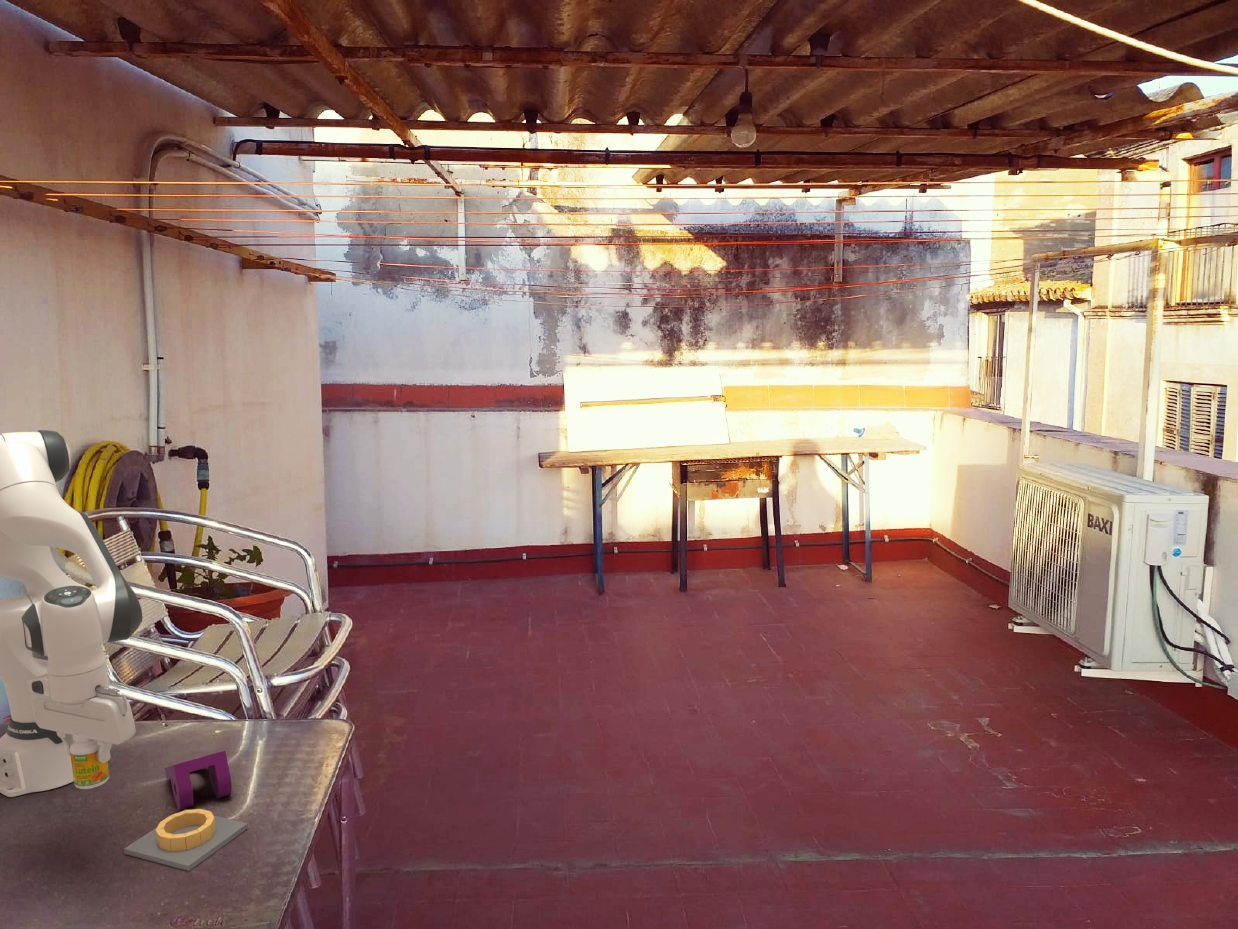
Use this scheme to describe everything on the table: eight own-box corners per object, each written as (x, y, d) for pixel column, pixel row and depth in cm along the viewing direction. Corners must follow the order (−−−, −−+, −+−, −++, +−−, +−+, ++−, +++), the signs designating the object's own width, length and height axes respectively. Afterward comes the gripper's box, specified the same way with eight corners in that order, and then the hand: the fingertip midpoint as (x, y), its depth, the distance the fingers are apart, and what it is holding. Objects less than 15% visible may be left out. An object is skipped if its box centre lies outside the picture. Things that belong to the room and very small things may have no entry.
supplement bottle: (72, 792, 163) (65, 739, 161) (76, 778, 168) (69, 726, 166) (108, 785, 165) (101, 733, 163) (111, 771, 170) (104, 720, 168)
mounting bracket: (169, 811, 195) (181, 810, 181) (161, 769, 197) (173, 765, 182) (218, 796, 201) (233, 794, 186) (210, 756, 202) (225, 750, 188)
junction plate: (124, 854, 170) (122, 836, 170) (186, 813, 183) (184, 797, 182) (188, 871, 165) (186, 852, 164) (247, 828, 177) (246, 811, 177)
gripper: (139, 683, 162) (148, 759, 165) (54, 667, 170) (64, 740, 172) (107, 698, 156) (117, 776, 159) (20, 681, 164) (31, 756, 166)
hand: (89, 757), depth 166 cm, fingers closed on supplement bottle, 5 cm apart
